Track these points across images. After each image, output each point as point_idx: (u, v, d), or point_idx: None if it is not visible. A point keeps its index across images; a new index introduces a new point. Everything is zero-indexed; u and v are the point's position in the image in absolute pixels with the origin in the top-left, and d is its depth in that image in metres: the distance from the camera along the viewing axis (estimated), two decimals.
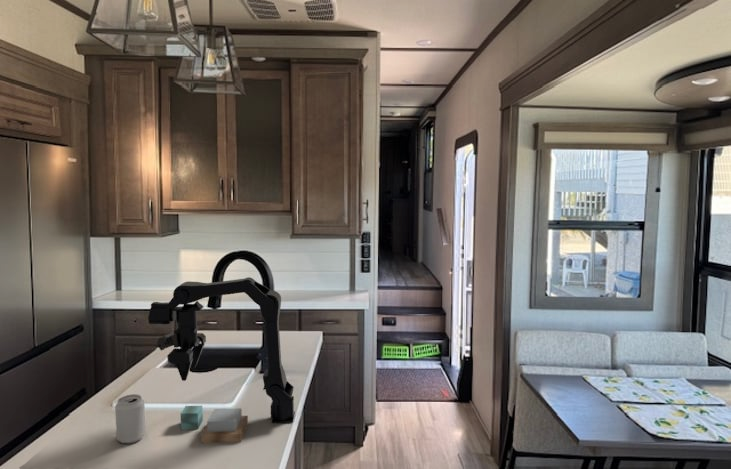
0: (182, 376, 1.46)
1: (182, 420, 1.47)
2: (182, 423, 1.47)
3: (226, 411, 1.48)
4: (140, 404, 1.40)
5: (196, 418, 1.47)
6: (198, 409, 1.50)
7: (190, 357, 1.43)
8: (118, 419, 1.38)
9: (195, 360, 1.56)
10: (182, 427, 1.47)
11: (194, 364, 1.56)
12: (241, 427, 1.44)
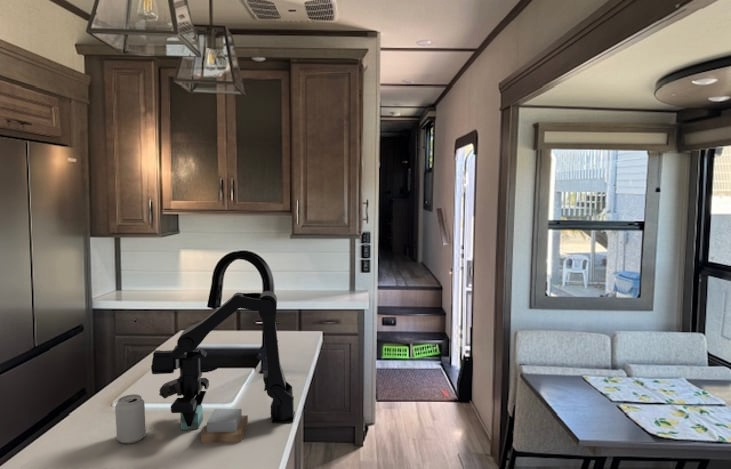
0: (187, 422, 1.46)
1: (182, 420, 1.47)
2: (182, 423, 1.47)
3: (226, 411, 1.47)
4: (140, 404, 1.40)
5: (196, 418, 1.47)
6: (198, 409, 1.50)
7: (194, 407, 1.41)
8: (118, 419, 1.38)
9: None
10: (182, 427, 1.47)
11: None
12: (241, 427, 1.44)
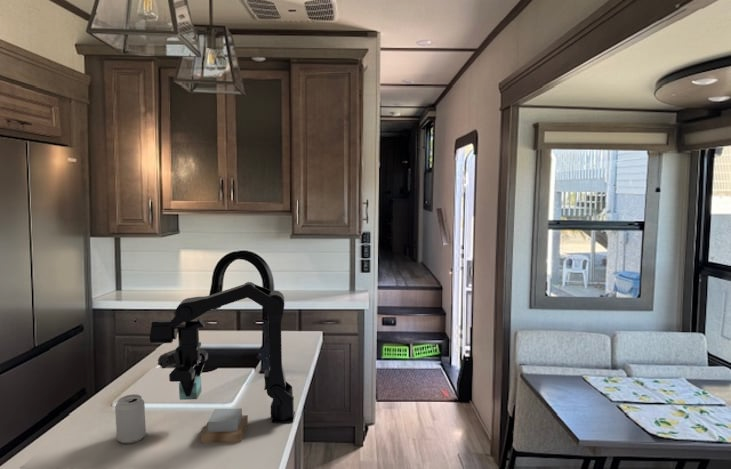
0: (186, 392, 1.45)
1: (180, 390, 1.46)
2: (180, 393, 1.46)
3: (227, 411, 1.47)
4: (140, 404, 1.40)
5: (195, 388, 1.46)
6: (197, 379, 1.48)
7: (192, 376, 1.40)
8: (118, 419, 1.38)
9: None
10: (180, 397, 1.46)
11: None
12: (241, 427, 1.44)
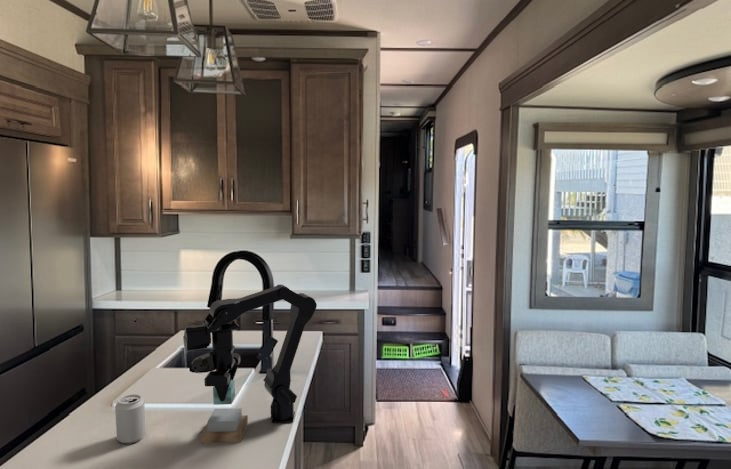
0: (220, 397, 1.41)
1: (215, 395, 1.42)
2: (215, 398, 1.42)
3: (226, 411, 1.47)
4: (140, 404, 1.40)
5: (229, 392, 1.42)
6: (231, 383, 1.44)
7: (228, 380, 1.36)
8: (118, 419, 1.38)
9: None
10: (215, 402, 1.42)
11: None
12: (241, 427, 1.44)
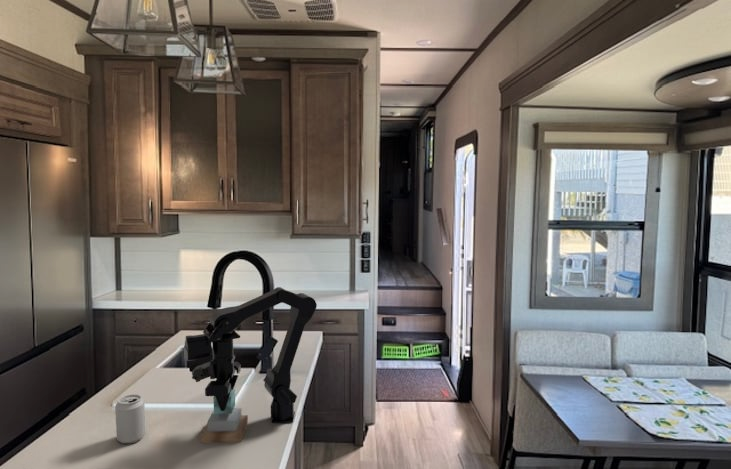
0: (221, 406, 1.41)
1: (215, 404, 1.42)
2: (215, 407, 1.42)
3: None
4: (140, 404, 1.40)
5: (229, 402, 1.42)
6: (231, 393, 1.44)
7: (228, 390, 1.36)
8: (118, 419, 1.38)
9: None
10: (215, 411, 1.42)
11: None
12: (241, 427, 1.44)
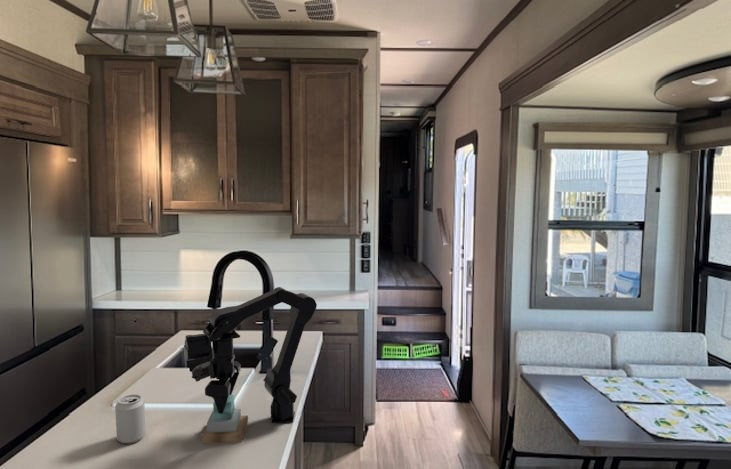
0: (219, 409, 1.39)
1: (215, 410, 1.42)
2: (215, 413, 1.42)
3: None
4: (140, 404, 1.40)
5: (229, 407, 1.42)
6: (230, 398, 1.45)
7: (228, 390, 1.36)
8: (118, 419, 1.38)
9: (230, 390, 1.49)
10: (215, 417, 1.42)
11: (229, 394, 1.49)
12: (241, 427, 1.44)
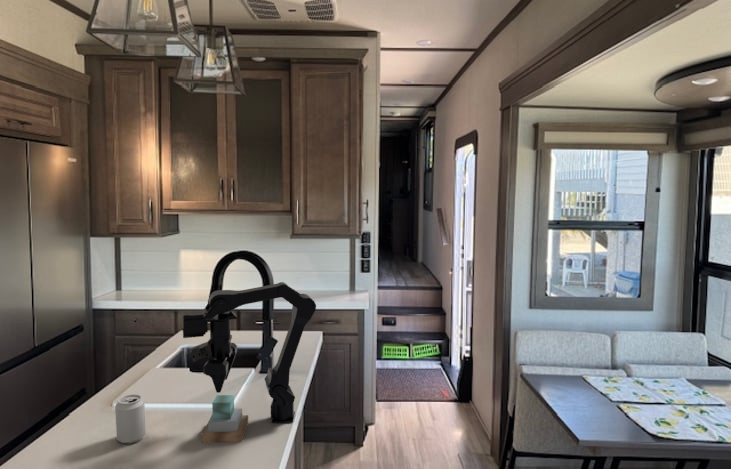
0: (217, 388, 1.42)
1: (214, 409, 1.42)
2: (214, 413, 1.42)
3: None
4: (140, 404, 1.40)
5: (228, 407, 1.42)
6: (230, 398, 1.44)
7: (226, 368, 1.39)
8: (118, 419, 1.38)
9: (227, 371, 1.51)
10: (214, 417, 1.42)
11: (226, 375, 1.51)
12: (242, 427, 1.44)
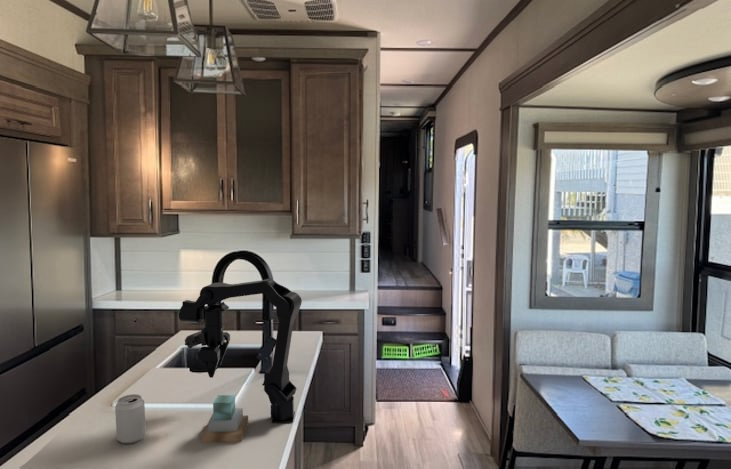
0: (209, 373, 1.52)
1: (215, 410, 1.42)
2: (214, 413, 1.42)
3: None
4: (140, 404, 1.40)
5: (229, 408, 1.42)
6: (231, 399, 1.44)
7: (218, 355, 1.49)
8: (118, 419, 1.38)
9: (220, 358, 1.62)
10: (214, 417, 1.42)
11: (219, 362, 1.62)
12: (242, 427, 1.44)
